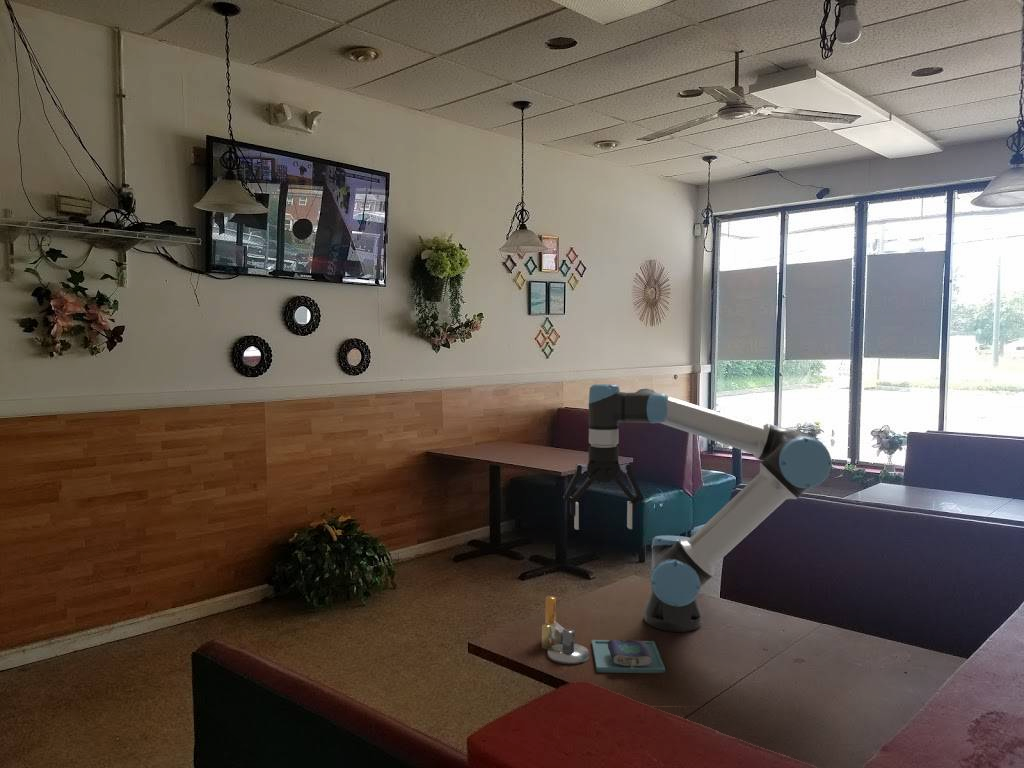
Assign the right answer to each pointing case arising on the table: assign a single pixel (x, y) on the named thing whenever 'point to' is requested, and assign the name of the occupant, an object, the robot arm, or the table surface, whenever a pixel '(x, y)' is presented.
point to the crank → (553, 619)
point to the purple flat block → (629, 652)
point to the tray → (607, 665)
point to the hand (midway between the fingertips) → (603, 528)
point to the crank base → (563, 647)
